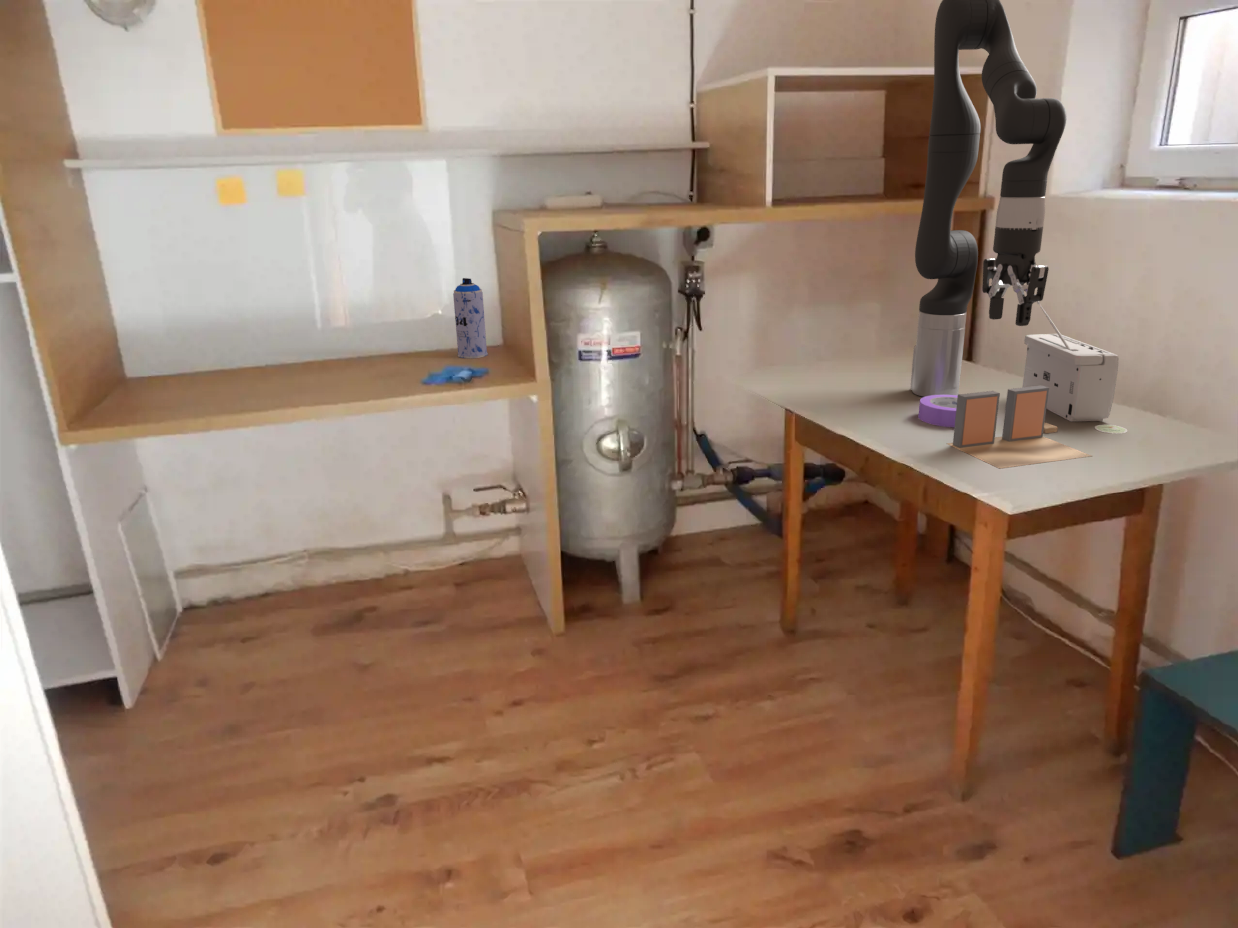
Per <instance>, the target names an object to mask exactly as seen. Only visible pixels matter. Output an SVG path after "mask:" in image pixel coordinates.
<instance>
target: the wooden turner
mask: <svg viewBox="0 0 1238 928" xmlns="http://www.w3.org/2000/svg"><path fill="white" fill-rule="evenodd" d="M1058 428H1059V427H1058V426H1056V425H1053V424H1051V423H1048V422H1045V423H1044V430H1043V434H1051V433H1058Z"/></svg>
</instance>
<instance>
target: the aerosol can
mask: <svg viewBox="0 0 1238 928" xmlns="http://www.w3.org/2000/svg"><path fill="white" fill-rule="evenodd" d="M452 295H453V306H454V308H453V309H454V319H455V320H454V322H455V330H456V344H457V357H458V358H460V359H478V358H479V359H480V358H484V357H487V356H489V353H488V350H487V349H488V348H487V338H486V337H487V336H486V321H485V307H484V295H483V289H482V288H481V287H480V286H479V285H477V284H475V283H474V282H472V278H469V277H468V278H467V277H463V278H462V283H460V284H458V285H457V286H456V287H455V289H454V290H453V294H452Z"/></svg>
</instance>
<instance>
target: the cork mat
mask: <svg viewBox="0 0 1238 928" xmlns="http://www.w3.org/2000/svg"><path fill="white" fill-rule="evenodd" d="M946 445H948V446H951V447H953V448H955V449H956V450H959V451H961V452H962V453H966V454H967V455H970V456H972V457H974V458H976V459H978V460H981V461H983V462H984V463H986V464H989V465H991V466H992V467H995V468H998V469H1000V470H1001V469H1008V468H1015V467H1022V466H1023V467H1024V466H1030V465H1037V464H1044V463H1051V462H1058V461H1060V462H1061V461H1066V460H1067V461H1068V460H1074V459H1082V458H1090V457H1092V455H1091V454H1088V453H1085V452H1083V451H1080V450H1078V449H1076V448H1072V447H1070V446H1069V445H1065V444H1064V443H1061V442H1058V441H1056V440H1053V439H1050V438H1048V437H1045V436H1043V437H1042V438H1034V439H1026V440H1018V441H1010V442H1008V441H1006V440H1004V439H1002V436H995V440H994V444H987V445H979V446H971V447H963V448H958V447H956V446H954V445H953V442H948V443H946Z"/></svg>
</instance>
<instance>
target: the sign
mask: <svg viewBox="0 0 1238 928" xmlns="http://www.w3.org/2000/svg"><path fill="white" fill-rule="evenodd" d="M1094 430H1096V431H1098V432H1100V433H1105V434H1113V435H1121V434H1122V435H1123V434H1126V433H1128V429H1127V428H1125V427H1122V426H1119V425H1115V424H1099V425H1095V426H1094Z"/></svg>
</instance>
